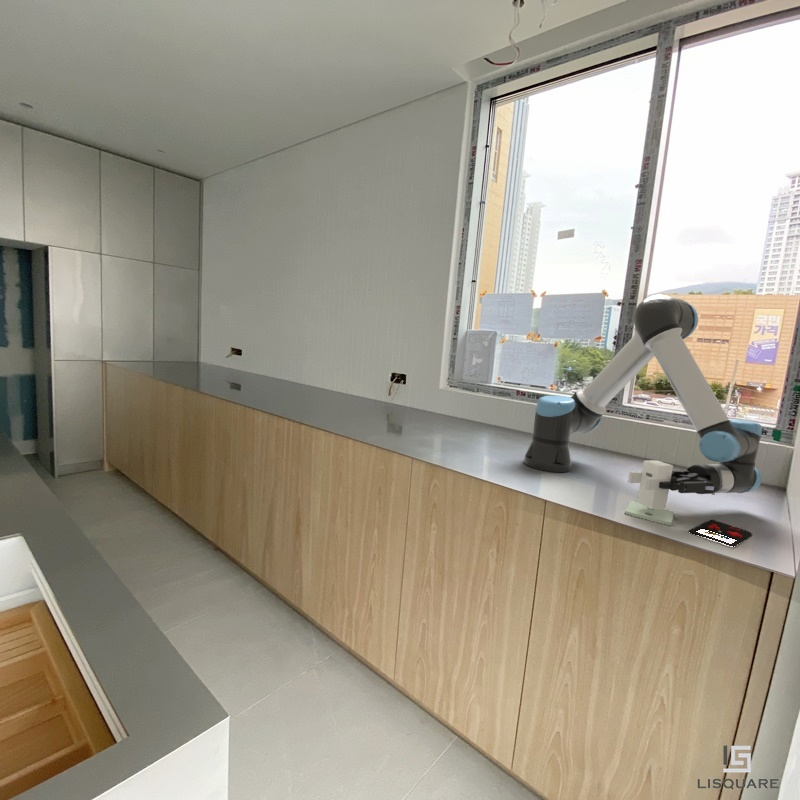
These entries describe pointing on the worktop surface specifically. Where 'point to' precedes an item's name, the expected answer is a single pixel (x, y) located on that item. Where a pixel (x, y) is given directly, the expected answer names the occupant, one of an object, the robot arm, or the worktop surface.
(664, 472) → the block
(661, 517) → the outlet plate
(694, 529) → the handheld gaming device
